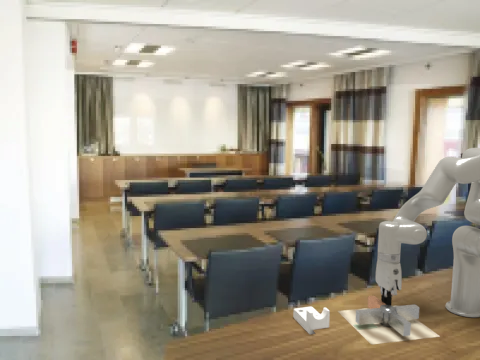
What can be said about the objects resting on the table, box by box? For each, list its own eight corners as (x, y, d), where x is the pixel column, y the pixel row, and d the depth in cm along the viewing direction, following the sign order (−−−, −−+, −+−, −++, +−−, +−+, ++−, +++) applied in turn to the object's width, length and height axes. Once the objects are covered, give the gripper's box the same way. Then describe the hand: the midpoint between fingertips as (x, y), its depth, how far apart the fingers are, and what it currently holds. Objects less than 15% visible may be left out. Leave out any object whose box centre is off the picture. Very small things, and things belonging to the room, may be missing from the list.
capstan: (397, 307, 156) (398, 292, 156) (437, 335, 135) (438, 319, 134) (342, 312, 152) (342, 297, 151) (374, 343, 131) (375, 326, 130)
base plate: (397, 309, 159) (397, 304, 159) (440, 340, 136) (440, 335, 135) (337, 315, 154) (337, 310, 154) (371, 348, 131) (371, 343, 130)
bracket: (329, 332, 142) (329, 310, 141) (309, 335, 139) (310, 313, 139) (311, 315, 154) (312, 295, 153) (293, 318, 152) (293, 297, 151)
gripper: (410, 262, 144) (407, 314, 147) (386, 250, 159) (384, 297, 161) (390, 264, 143) (388, 316, 145) (368, 251, 157) (366, 298, 159)
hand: (386, 306), depth 153 cm, fingers closed
